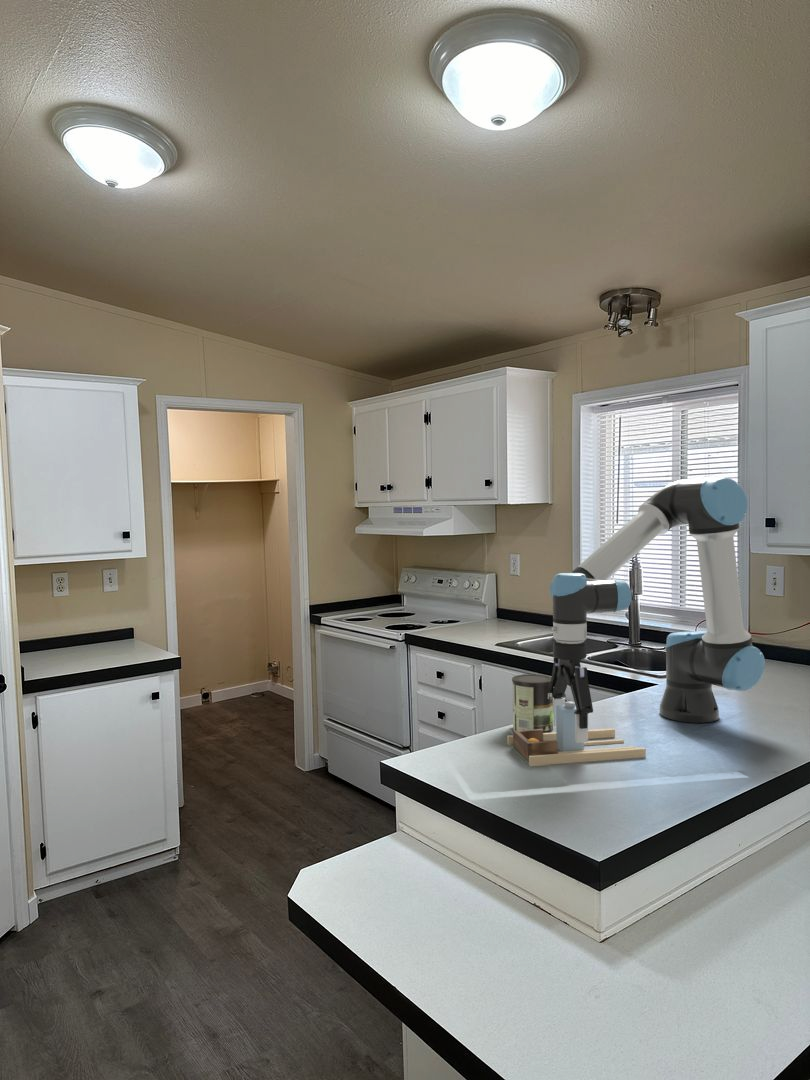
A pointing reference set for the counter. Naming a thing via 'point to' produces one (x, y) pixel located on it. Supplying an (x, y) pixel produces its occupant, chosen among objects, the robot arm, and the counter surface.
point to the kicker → (566, 728)
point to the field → (584, 754)
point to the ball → (533, 740)
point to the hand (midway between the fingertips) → (570, 733)
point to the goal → (533, 743)
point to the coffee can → (532, 703)
